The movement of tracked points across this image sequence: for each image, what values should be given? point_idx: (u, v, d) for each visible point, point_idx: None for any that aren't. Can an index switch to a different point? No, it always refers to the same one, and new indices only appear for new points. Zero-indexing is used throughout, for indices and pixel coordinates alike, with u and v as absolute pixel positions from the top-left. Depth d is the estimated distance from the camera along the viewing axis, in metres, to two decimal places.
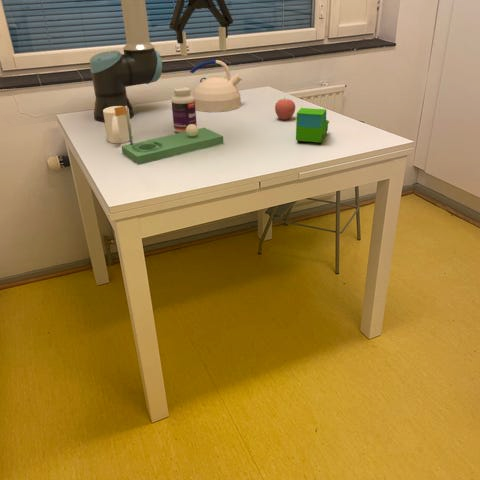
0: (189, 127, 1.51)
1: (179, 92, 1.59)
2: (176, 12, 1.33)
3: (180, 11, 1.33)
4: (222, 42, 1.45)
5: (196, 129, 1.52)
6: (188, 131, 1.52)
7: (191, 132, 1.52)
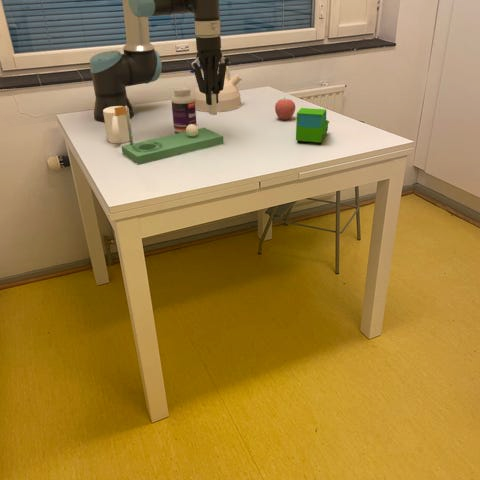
0: (189, 127, 1.51)
1: (179, 92, 1.59)
2: (199, 80, 1.47)
3: (201, 77, 1.46)
4: None
5: (196, 129, 1.52)
6: (188, 131, 1.52)
7: (191, 132, 1.52)
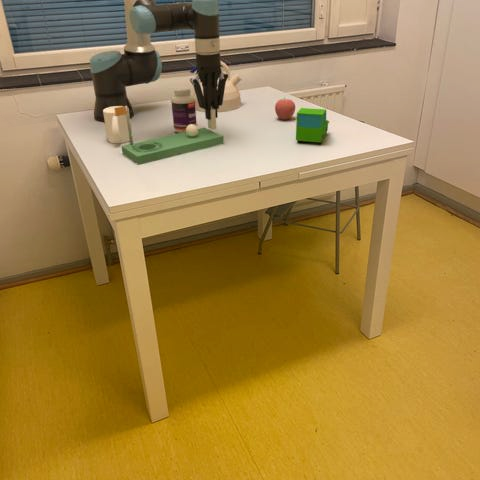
0: (189, 127, 1.51)
1: (179, 92, 1.59)
2: (198, 95, 1.49)
3: (201, 93, 1.48)
4: None
5: (196, 129, 1.52)
6: (188, 131, 1.52)
7: (191, 132, 1.52)
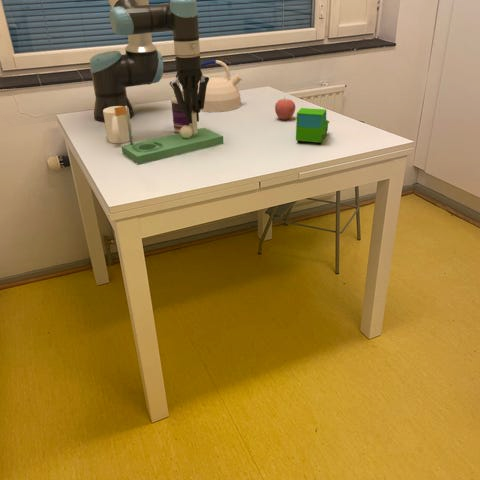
0: (182, 133, 1.51)
1: None
2: (179, 99, 1.46)
3: (181, 97, 1.45)
4: None
5: (189, 130, 1.51)
6: (184, 136, 1.52)
7: (187, 136, 1.51)
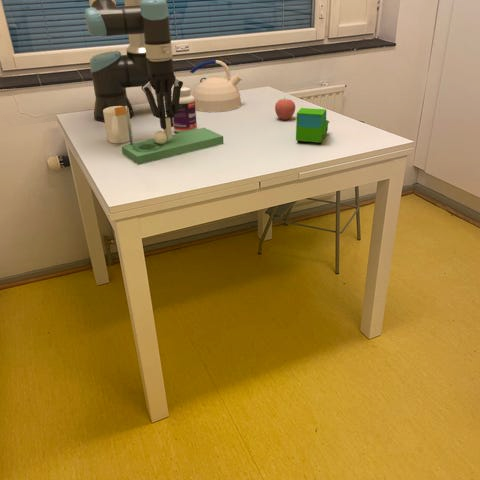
0: (165, 134, 1.47)
1: None
2: (151, 104, 1.41)
3: (153, 101, 1.40)
4: None
5: (164, 141, 1.47)
6: (162, 132, 1.46)
7: (162, 134, 1.46)
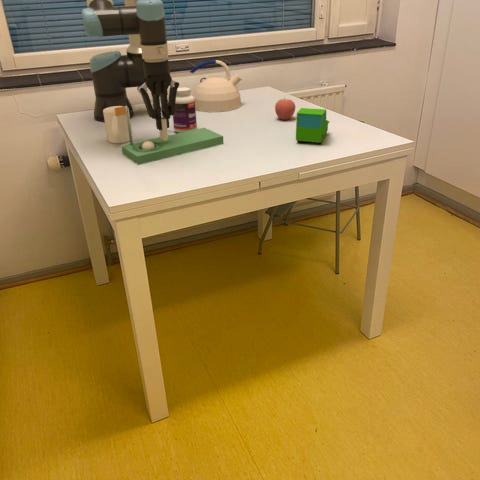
0: (144, 147, 1.46)
1: (179, 92, 1.59)
2: (147, 105, 1.41)
3: (149, 102, 1.40)
4: None
5: (150, 144, 1.46)
6: None
7: None
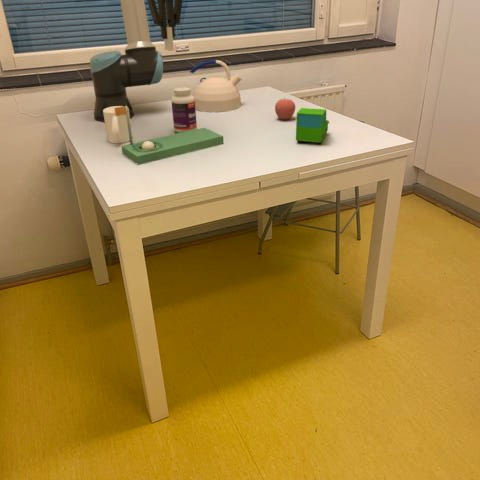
0: (144, 148, 1.46)
1: (179, 92, 1.59)
2: (152, 10, 1.37)
3: (155, 7, 1.36)
4: None
5: (150, 144, 1.46)
6: None
7: None
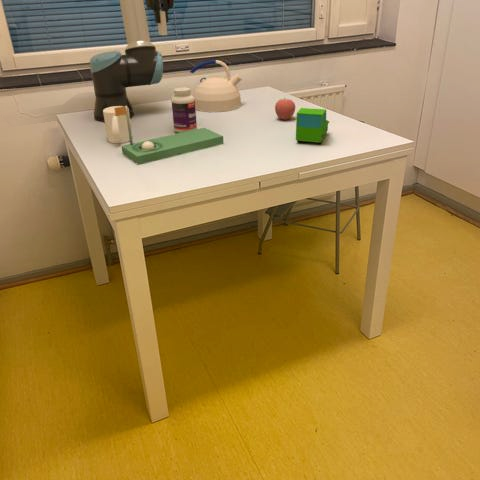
0: (143, 148, 1.46)
1: (179, 92, 1.59)
2: None
3: None
4: None
5: (150, 144, 1.46)
6: None
7: None
